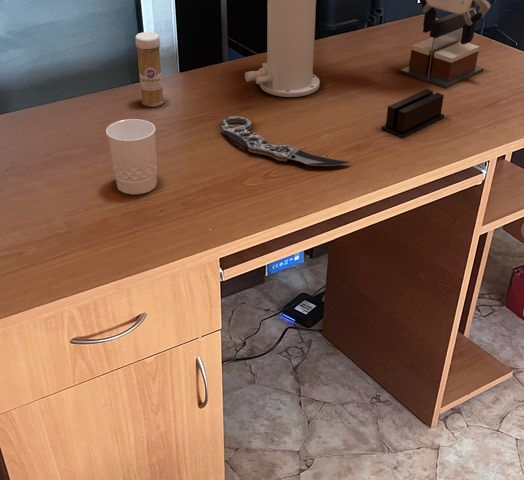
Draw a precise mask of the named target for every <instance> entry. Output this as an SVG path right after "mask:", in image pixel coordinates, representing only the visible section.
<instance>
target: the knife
mask: <svg viewBox="0 0 524 480" xmlns="http://www.w3.org/2000/svg"><path fill="white" fill-rule="evenodd" d="M235 123H238V124H243V125H232V124H235ZM251 128H252V122H251V120H250V119H248V118H247V117H244V116H237V115H234V116H226V117H224V118H222V124H221V126H220V130H221V132H222V134H223V135H226V137H228V138H229V139H230V140H231V141H233V142H234V143H236V144H238V145H239V146H241V147H243V148H245V149H247V151H248V152H250V153H252V154H258V155H262V156H263V155H264V156H267V157H270V158H273V159H274V160H277V161H281V162H288V160H291V162H295V161H296V162H299V163H302V164H304V165H306V166H314V167H315V166H316V167H317V166H318V167H335V166H342V165H349V164H352V161H349V160H340V159H335V158H329V157H324V156H321V155H316V154H312V153H309V152H306V151H303V150H302V149H298V148H297V147H294V146H293V145H290V144H272V143H270V142H268V141H266V139H265V138H264V137H263V136H261V135H260V134H258V133H256V132H253V131H249V130H250V129H251Z"/></svg>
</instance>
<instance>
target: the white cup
mask: <svg viewBox="0 0 524 480" xmlns="http://www.w3.org/2000/svg"><path fill="white" fill-rule="evenodd" d="M105 135H106V139H107V140H106V141H107V145H108V150H109V151H108V152H109V157H110V162H111V167H112V171H113V172H112V173H113V175H114V178H115V184H116V187H117V190H118V191H120V192H121V193H123V194H127V195H128V194H129V195H142V194H146V193H150V192H151V191H153V190H154V189H156V188H157V187H156V186H157V184H158V176H157V175H158V173H157V170H158V167H157V166H158V163H157V157H158V153H157V133H156V126H155V125H154V123H152V122H150V121H148V120H146V119H140V118H139V119H138V118H128V119H121V120H117V121H115V122H112V123H110V124H109V125H108V126H107V127H106V130H105Z"/></svg>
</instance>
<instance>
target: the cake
mask: <svg viewBox="0 0 524 480" xmlns="http://www.w3.org/2000/svg"><path fill="white" fill-rule="evenodd" d="M432 43H433V37H430V38H426V39H424V40H422V41H419V42H416V43H413V44H412V45H411V50H410V57H409V65H408V66H406V67H404V68H401V69H400V71H399V72H400V73H401V74H404V75H407V76H409V77H411V78H415V79H418V80H421V81H423V82H426V83H429V84H432V85H434V86H438V87H441V88H443V89H447V88H449V87H451V86H453V85H456V84H458V83H460V82H462V81H464V80H466V79H468V78H471V77H473V76H474V75H477V74H479V73H482V72H484V67H481V66H478V65H477V62H478V56H479V50H480V45H476V44H473V43H471V42H469V43H467V44H464V45H463V44H461V41H460V42H459V43H456V44H454V45H451V46H449V47H447V48H444V49H442V50H439V51H437V52H435V53H434V59H433V65H432V72H431V74H430V75H428V71H429V64H430V57H431V50H432Z"/></svg>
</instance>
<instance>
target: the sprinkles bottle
mask: <svg viewBox="0 0 524 480" xmlns="http://www.w3.org/2000/svg"><path fill="white" fill-rule="evenodd" d="M160 45H161V41H160V35H159V33H156V32H153V31H142V32H139V33H137V34H136V35H135V46H136V50H137V66H138V75H139V84H140V93H141V104H142V105H143V106H145V107H149V108H155V107H156V108H157V107H160V106H162V105H164V103H165V99H164V92H163V74H162V73H163V72H162V61H161V52H160V47H161V46H160Z"/></svg>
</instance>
